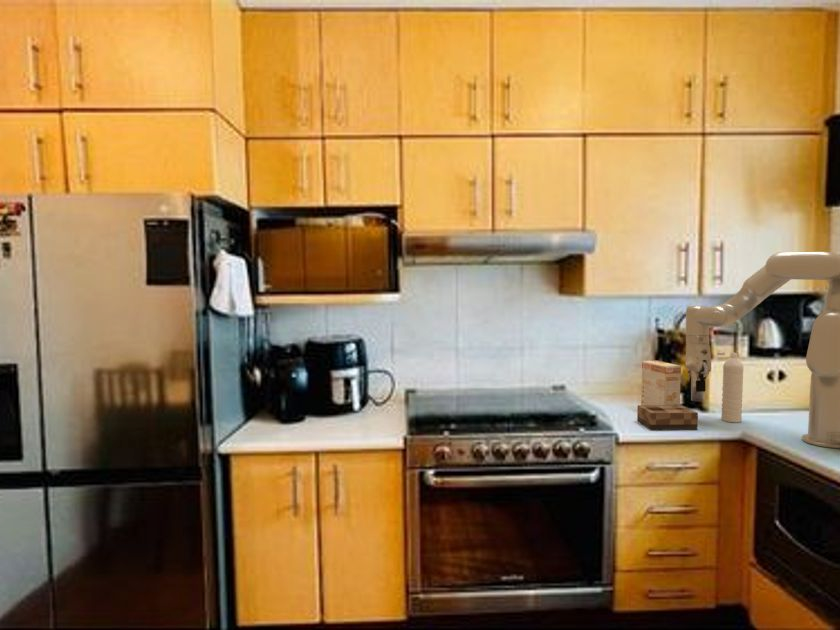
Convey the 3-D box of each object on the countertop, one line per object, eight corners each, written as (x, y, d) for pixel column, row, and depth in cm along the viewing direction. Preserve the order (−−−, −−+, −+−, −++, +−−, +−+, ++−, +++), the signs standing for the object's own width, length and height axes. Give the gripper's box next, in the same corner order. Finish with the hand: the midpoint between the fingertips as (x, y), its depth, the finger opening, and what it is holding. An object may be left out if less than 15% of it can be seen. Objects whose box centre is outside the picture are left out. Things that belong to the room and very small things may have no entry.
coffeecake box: (680, 417, 216) (681, 365, 215) (663, 418, 214) (664, 366, 213) (656, 408, 230) (657, 359, 229) (640, 409, 229) (641, 360, 228)
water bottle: (738, 418, 213) (740, 351, 211) (743, 423, 207) (746, 354, 205) (712, 417, 215) (714, 351, 213) (717, 421, 209) (719, 353, 207)
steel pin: (705, 401, 207) (705, 368, 206) (694, 401, 206) (694, 368, 206) (699, 399, 211) (700, 366, 210) (689, 399, 210) (689, 366, 210)
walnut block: (697, 430, 198) (697, 412, 197) (651, 430, 197) (651, 413, 197) (680, 421, 209) (681, 405, 209) (637, 421, 209) (637, 405, 209)
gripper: (720, 341, 199) (720, 394, 200) (696, 337, 216) (695, 386, 217) (698, 342, 199) (698, 394, 200) (676, 338, 216) (676, 386, 217)
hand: (697, 389), depth 208 cm, fingers closed on steel pin, 4 cm apart
